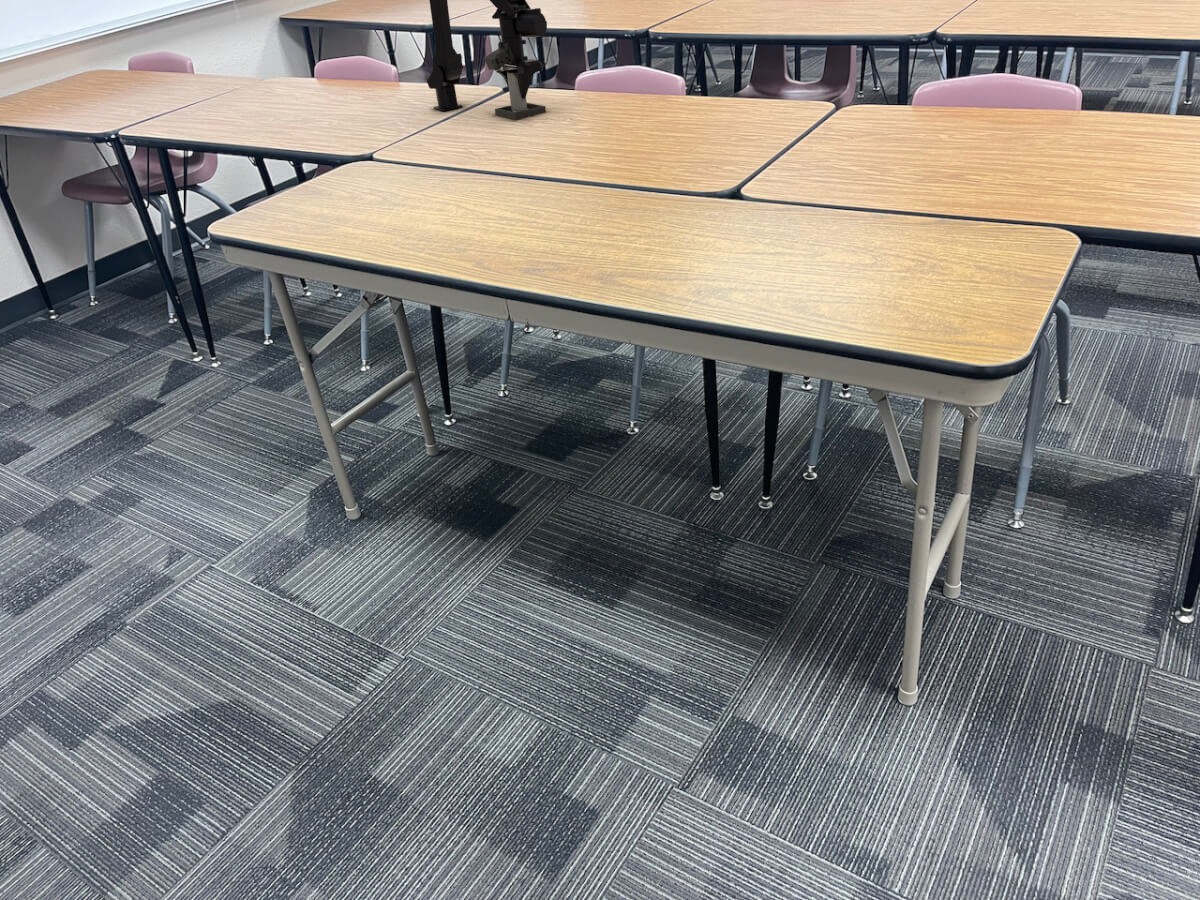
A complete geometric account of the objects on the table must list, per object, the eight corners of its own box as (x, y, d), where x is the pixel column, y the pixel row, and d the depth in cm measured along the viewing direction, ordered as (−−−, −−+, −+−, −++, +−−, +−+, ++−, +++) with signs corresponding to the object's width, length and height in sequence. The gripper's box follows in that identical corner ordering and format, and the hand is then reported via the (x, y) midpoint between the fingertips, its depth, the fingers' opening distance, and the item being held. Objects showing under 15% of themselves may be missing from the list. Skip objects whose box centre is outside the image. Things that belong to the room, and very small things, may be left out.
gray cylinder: (528, 107, 243) (524, 68, 237) (525, 111, 239) (521, 72, 233) (513, 107, 243) (508, 69, 237) (510, 112, 240) (505, 73, 233)
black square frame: (495, 116, 243) (494, 108, 242) (525, 109, 248) (524, 102, 247) (515, 120, 236) (514, 113, 235) (546, 113, 241) (545, 106, 240)
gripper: (468, 39, 233) (477, 99, 242) (505, 43, 221) (513, 106, 229) (502, 33, 239) (509, 92, 247) (540, 37, 226) (546, 99, 234)
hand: (518, 97), depth 239 cm, fingers closed on gray cylinder, 4 cm apart
